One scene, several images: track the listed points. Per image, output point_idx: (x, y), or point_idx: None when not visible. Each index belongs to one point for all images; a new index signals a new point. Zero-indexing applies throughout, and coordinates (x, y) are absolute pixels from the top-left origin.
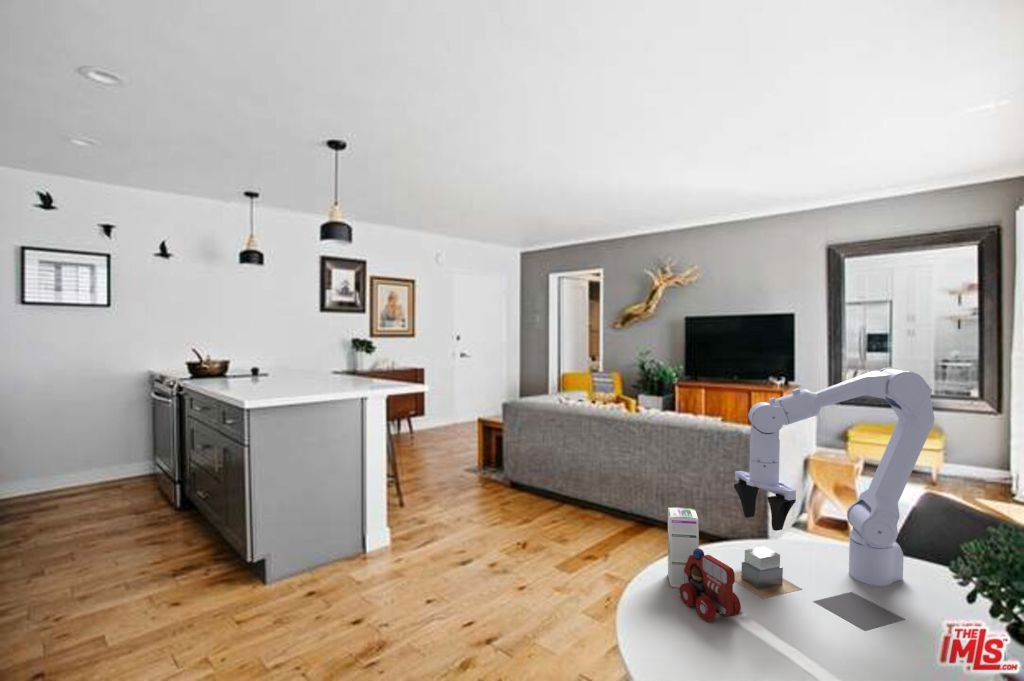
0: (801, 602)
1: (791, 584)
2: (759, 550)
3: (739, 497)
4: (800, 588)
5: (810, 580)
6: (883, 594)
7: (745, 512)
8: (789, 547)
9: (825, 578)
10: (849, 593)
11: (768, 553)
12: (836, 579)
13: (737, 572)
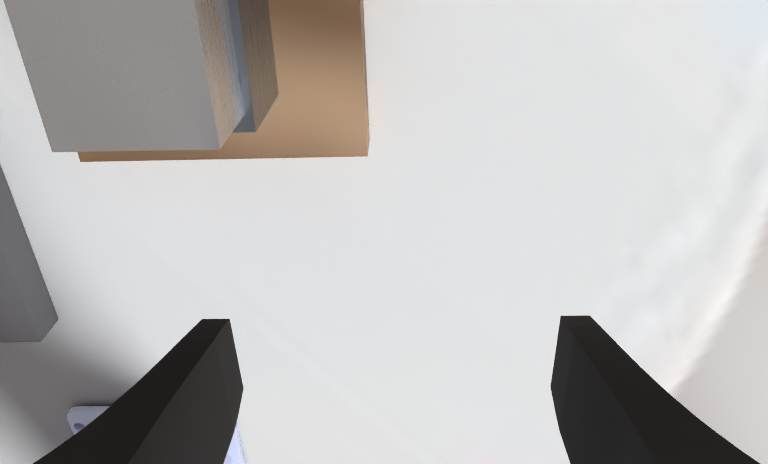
0: None
1: None
2: (149, 47)
3: (738, 450)
4: (88, 156)
5: (244, 301)
6: None
7: (582, 340)
8: (543, 449)
9: (246, 366)
10: (23, 322)
11: (78, 76)
12: None
13: None
